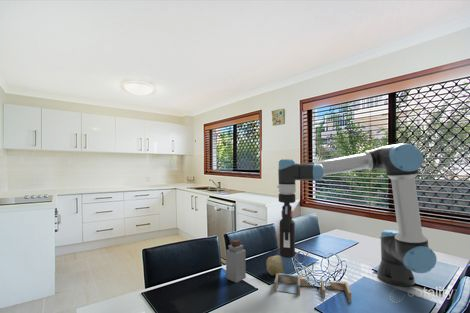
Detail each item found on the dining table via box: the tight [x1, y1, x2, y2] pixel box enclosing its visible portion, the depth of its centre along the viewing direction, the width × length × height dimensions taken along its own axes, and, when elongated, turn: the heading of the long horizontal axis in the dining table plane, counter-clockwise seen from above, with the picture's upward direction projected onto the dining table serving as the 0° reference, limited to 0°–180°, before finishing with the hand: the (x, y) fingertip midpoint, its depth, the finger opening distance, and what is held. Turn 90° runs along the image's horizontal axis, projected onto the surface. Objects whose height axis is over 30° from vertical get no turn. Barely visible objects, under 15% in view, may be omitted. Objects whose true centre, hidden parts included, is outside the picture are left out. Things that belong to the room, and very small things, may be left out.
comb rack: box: [273, 273, 352, 303], centre depth 108 cm, size 31×10×4 cm, turn 75°
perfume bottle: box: [225, 239, 247, 284], centre depth 120 cm, size 7×7×18 cm
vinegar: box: [279, 210, 296, 259], centre depth 111 cm, size 7×7×20 cm
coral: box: [265, 255, 285, 277], centre depth 124 cm, size 10×10×10 cm
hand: (287, 244), depth 110 cm, fingers closed on vinegar, 6 cm apart
